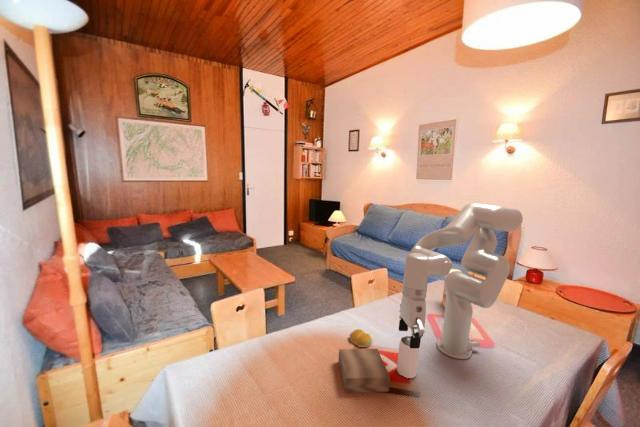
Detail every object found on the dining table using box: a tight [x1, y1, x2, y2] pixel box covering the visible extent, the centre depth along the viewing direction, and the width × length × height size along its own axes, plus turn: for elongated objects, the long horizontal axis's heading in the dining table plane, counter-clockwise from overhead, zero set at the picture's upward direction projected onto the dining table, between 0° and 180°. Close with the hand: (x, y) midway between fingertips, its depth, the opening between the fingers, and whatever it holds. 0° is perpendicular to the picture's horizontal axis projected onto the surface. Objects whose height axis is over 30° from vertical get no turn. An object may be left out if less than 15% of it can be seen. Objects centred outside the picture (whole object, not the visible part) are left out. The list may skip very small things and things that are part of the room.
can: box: [396, 335, 420, 379], centre depth 96 cm, size 6×6×12 cm
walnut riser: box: [338, 348, 391, 394], centre depth 94 cm, size 14×14×5 cm
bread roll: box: [349, 328, 373, 348], centre depth 114 cm, size 8×9×4 cm
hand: (408, 338), depth 95 cm, fingers open, 9 cm apart
